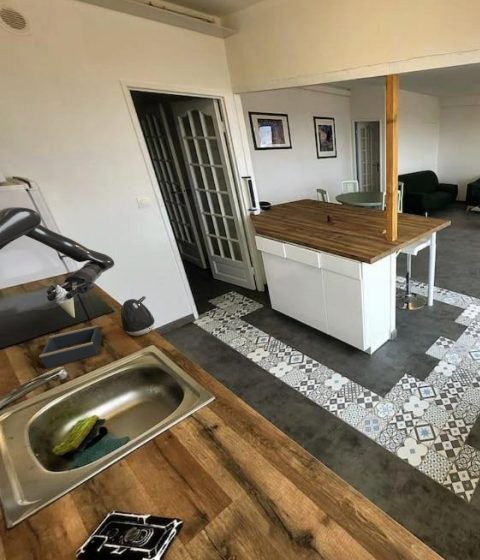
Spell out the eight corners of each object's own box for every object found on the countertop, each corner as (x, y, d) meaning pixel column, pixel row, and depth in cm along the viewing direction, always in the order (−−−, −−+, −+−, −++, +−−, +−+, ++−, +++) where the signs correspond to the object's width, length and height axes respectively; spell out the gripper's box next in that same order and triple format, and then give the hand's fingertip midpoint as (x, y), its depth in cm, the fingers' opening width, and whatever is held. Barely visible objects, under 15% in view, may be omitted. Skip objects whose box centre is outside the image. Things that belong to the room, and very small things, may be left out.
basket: (46, 368, 107) (39, 356, 105) (55, 347, 117) (49, 336, 115) (97, 354, 114) (91, 343, 112) (102, 336, 124) (97, 325, 122)
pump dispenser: (163, 328, 130) (152, 296, 123) (136, 342, 121) (122, 308, 115) (148, 322, 134) (136, 291, 127) (121, 335, 125) (107, 302, 119)
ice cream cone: (84, 316, 125) (68, 283, 118) (68, 322, 121) (50, 288, 115) (79, 312, 127) (63, 280, 121) (63, 318, 124) (45, 285, 117)
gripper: (56, 273, 128) (29, 291, 114) (99, 269, 132) (78, 286, 118) (64, 289, 131) (39, 309, 117) (105, 285, 136) (86, 303, 121)
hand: (58, 297), depth 118 cm, fingers closed on ice cream cone, 5 cm apart
